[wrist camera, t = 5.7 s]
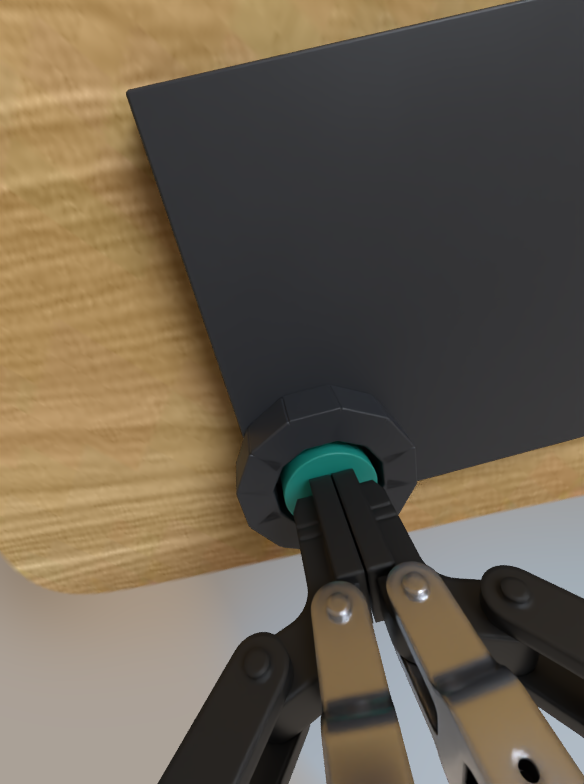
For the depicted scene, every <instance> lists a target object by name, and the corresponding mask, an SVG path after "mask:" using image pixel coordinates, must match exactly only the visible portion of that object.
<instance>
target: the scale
mask: <svg viewBox="0 0 584 784" xmlns="http://www.w3.org/2000/svg"><path fill="white" fill-rule="evenodd" d="M126 96H127V99H128V102H129V105H130V108H131V111H132V114H133V116H134V119H135V122H136V125H137V128H138V131H139V134H140V137H141V140H142V143H143V146H144V149H145V152H146V155H147V157H148V160H149V163H150V166H151V169H152V172H153V175H154V178H155V181H156V184H157V187H158V190H159V193H160V196H161V198H162V201H163V204H164V207H165V210H166V213H167V216H168V219H169V222H170V225H171V228H172V231H173V234H174V236H175V239H176V242H177V245H178V248H179V251H180V254H181V257H182V260H183V263H184V266H185V269H186V272H187V275H188V277H189V280H190V283H191V286H192V289H193V292H194V295H195V298H196V301H197V304H198V307H199V310H200V313H201V316H202V318H203V321H204V324H205V327H206V330H207V333H208V336H209V339H210V342H211V345H212V348H213V351H214V354H215V356H216V359H217V362H218V365H219V368H220V371H221V374H222V377H223V380H224V383H225V386H226V389H227V392H228V395H229V397H230V400H231V403H232V406H233V409H234V412H235V415H236V418H237V421H238V424H239V427H240V430H241V433H242V436H243V438H244V439H243V442H242V446H241V449H240V452H239V455H238V458H237V461H236V495H237V497H238V500H239V502H240V505H241V507H242V510H243V512H244V515H245V518H246V520H247V523H248V525H249V527H251V529H253V530H255V531H256V532H258V533H259V534H261V535H263V536H264V537H266V538H267V539H269V540H270V541H272V542H274V543H275V544H277V545H278V546H280V547H281V546H282V547H285V548H295V549H300V545H299V540H298V535H297V529H296V525H295V520H294V516H293V515H292V514H291V512H290V511H289V510H288V508H287V506H286V504H285V500H284V495H283V489H282V483H281V478H280V473H281V470H282V468H283V467H284V466H285V465H286V464H288V463H289V462H290V461H291V460H293V459H294V458H295V457H296V456H297V455H299V454H300V453H301V452H302V451H304V450H305V449H308V448H312V447H316V446H320V445H324V444H328V443H331V442H335V441H341V442H346V443H351V444H356V445H362V447H363V449H364V451H365V453H366V454H367V456H368V458H369V460H370V462H371V464H372V466H373V468H374V469H375V472H376V475H377V484H379V485H380V486H381V487H382V488H384V489H385V491H386V493H387V495H388V497H389V499H390V500H391V503H392V505H393V506H394V508H395V510H396V512H397V515H399V513H400V511H401V510H402V508H403V506H404V505H405V503H406V501H407V499H408V498H409V496H410V494H411V493H412V491H413V489H414V488H415V486H416V484H417V481H419V480H423V479H427V478H431V477H434V476H438V475H442V474H446V473H449V472H453V471H457V470H460V469H464V468H468V467H472V466H475V465H479V464H483V463H487V462H490V461H494V460H498V459H501V458H505V457H509V456H513V455H516V454H520V453H524V452H528V451H531V450H535V449H539V448H542V447H546V446H550V445H554V444H557V443H561V442H565V441H569V440H572V439H576V438H580V437H583V436H584V0H519V1H515V2H510V3H506V4H502V5H497V6H493V7H489V8H484V9H480V10H475V11H471V12H467V13H462V14H458V15H454V16H449V17H445V18H440V19H436V20H432V21H427V22H423V23H419V24H414V25H410V26H405V27H401V28H397V29H392V30H388V31H384V32H379V33H375V34H370V35H366V36H362V37H357V38H353V39H349V40H344V41H340V42H335V43H331V44H327V45H322V46H318V47H314V48H309V49H305V50H300V51H296V52H292V53H287V54H283V55H279V56H274V57H270V58H265V59H261V60H257V61H252V62H248V63H244V64H239V65H235V66H230V67H226V68H222V69H217V70H213V71H209V72H204V73H200V74H195V75H191V76H187V77H182V78H178V79H173V80H169V81H165V82H160V83H156V84H152V85H147V86H143V87H138V88H134V89H130V90H128V91H127V92H126Z"/></svg>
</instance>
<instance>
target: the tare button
mask: <svg viewBox="0 0 584 784" xmlns="http://www.w3.org/2000/svg"><path fill="white" fill-rule="evenodd" d="M351 468H353V470H354V472H355V474H356V476H357V479H358V481H359V483H362V482H365V481H369V480H374V481H375V482H376V483H377V475H376V472H375V469H374V468H373V466H372V464H371V462H370V460H369V458H368V456H367V454H366V453H365V451H364V449H363V447H362V445H356V444H351V443H346V442H341V441H335V442H331V443H328V444H324V445H320V446H316V447H312V448H308V449H305V450H304V451H302V452H301V453H300V454H299V455H297V456H296V457H295V458H294V459H293V460H291V461H290V462H289V463H288V464H286V465H285V466H284V467H283V468H282V470H281V473H280V478H281V483H282V489H283V495H284V500H285V504H286V506H287V508H288V510H289V511H290V512H291V514H292V515H293V516H294V514H293V513H294V509H295V505H296V502H297V499H301V498H304V497H308V496H312V491H311V487H310V483H309V479H312V478H316V477H320V476H324V475H327V474H330V476H331V474H332V473H335V472H339V471H343V470H347V469H351ZM331 479H332V477H331Z"/></svg>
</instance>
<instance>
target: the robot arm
mask: <svg viewBox="0 0 584 784" xmlns="http://www.w3.org/2000/svg"><path fill="white" fill-rule="evenodd" d="M331 477H332V479H331ZM309 483H310V487H311V491H312V496H308V497H304V498H301V499H297V502H296V505H295V509H294V513H293V514H294V520H295V525H296V529H297V535H298V540H299V545H300V551H301V556H302V561H303V566H304V571H305V576H306V582H307V587H308V597H307V602H306V605H305V607H304V609H303V611H302V613H301V614H300V615H299V617H298V618H297V619H296V620H295V621H294V622H292V623H291V624H290V625H288V626H287V627H285V628H284V629H282V630H281V631H279V632H278V633H277V634H275V635H274V634H271V633H268V632H259V633H256V634H253V635H251V636H249V637H247V638H246V639H245V640H244V641H242V642H241V644H240V645H239V646H238V647H237V649H236V650H235V652H234V653H233V655H232V657H231V659H230V660H229V662H228V664H227V665H226V667H225V669H224V671H223V672H222V674H221V676H220V677H219V679H218V681H217V683H216V684H215V686H214V688H213V689H212V691H211V693H210V695H209V696H208V698H207V700H206V701H205V703H204V705H203V707H202V708H201V710H200V712H199V713H198V715H197V717H196V719H195V720H194V722H193V724H192V725H191V727H190V729H189V731H188V733H187V734H186V736H185V737H184V739H183V741H182V743H181V744H180V746H179V748H178V750H177V751H176V753H175V755H174V757H173V758H172V760H171V762H170V764H169V765H168V767H167V768H166V770H165V772H164V774H163V775H162V777H161V779H160V780H159V782H158V784H288V783H289V781H290V778H291V775H292V773H293V770H294V768H295V765H296V762H297V760H298V757H299V754H300V752H301V749H302V747H303V744H304V741H305V739H306V736H307V734H308V731H309V727H310V724H311V723H312V722H313V721H314V720H316V719H317V718H318V717H319V716H320V715H321V736H322V746H323V755H324V765H325V774H326V783H327V784H414V781H413V777H412V773H411V769H410V765H409V761H408V757H407V753H406V750H405V746H404V742H403V738H402V734H401V730H400V726H399V722H398V718H397V715H396V711H395V708H394V705H393V702H392V699H391V695H390V692H389V688H388V684H387V680H386V676H385V672H384V668H383V664H382V660H381V656H380V653H379V649H378V645H377V641H376V637H375V633H374V629H373V625H372V623H373V618H372V613H373V616H374V619H375V622H380V621H385V624H386V627H387V630H388V633H389V635H390V638H391V641H392V643H393V645H394V648H395V651H396V654H397V656H398V658H399V661H400V663H401V665H402V668H403V670H404V672H405V674H406V677H407V679H408V681H409V684H410V686H411V688H412V691H413V693H414V695H415V697H416V700H417V702H418V704H419V707H420V709H421V711H422V713H423V716H424V718H425V720H426V723H427V725H428V727H429V729H430V732H431V734H432V737H433V739H434V742H435V745H436V748H437V751H438V755H439V758H440V761H441V764H442V766H443V769H444V772H445V774H446V777H447V780H448V782H449V784H584V775H583V774H582V772H581V771H580V770H579V768H578V766H577V765H576V764H575V762H574V761H573V759H572V758H571V756H570V755H569V753H568V752H567V750H566V749H565V747H564V746H563V744H562V743H561V741H560V740H559V738H558V737H557V735H556V734H555V732H554V731H553V729H552V728H551V726H550V725H549V723H548V722H547V720H546V719H545V717H544V716H543V714H542V713H541V711H540V710H539V709H538V707H539V708H541V709H542V710H544V711H545V712H547V713H548V714H550V715H551V716H553V717H554V718H556V719H557V720H558V721H560V722H561V723H563V724H564V725H566V726H567V727H569V728H570V729H572V730H573V731H575V732H576V733H578V734H579V735H580V736H582V737H583V738H584V599H583V598H581V597H579V596H577V595H575V594H573V593H571V592H569V591H567V590H565V589H562V588H560V587H558V586H556V585H554V584H552V583H550V582H548V581H545V580H544V579H541V578H539V577H537V576H535V575H533V574H531V573H529V572H527V571H525V570H522V569H520V568H517V567H513V566H507V565H500V566H495V567H492V568H490V569H488V570H487V571H486V572H485V573H484V575H483V576H482V579H481V580H475V579H459V578H451V577H447V576H444V575H441V574H439V573H437V572H436V571H435V570H434V569H432V568H431V567H429V566H427V565H426V564H425V563H424V562H423V560H422V559H421V557H420V556H419V554H418V552H417V550H416V548H415V546H414V544H413V542H412V540H411V539H410V537H409V535H408V533H407V531H406V529H405V527H404V525H403V523H402V521H401V519H400V518H399V516H398V515H397V512H396V510H395V508H394V506H393V505H392V503H391V500H390V499H389V497H388V495H387V493H386V491H385V489H384V488H382V487H381V486H380V485H379V484H377V483H376V482H375V481H374V480H369V481H365V482H362V483H359V481H358V479H357V476H356V474H355V472H354V470H353V468H351V469H347V470H343V471H339V472H335V473H332V474H331V476H330V474H327V475H324V476H320V477H316V478H312V479H309ZM371 610H372V612H371ZM537 706H538V707H537Z"/></svg>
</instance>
